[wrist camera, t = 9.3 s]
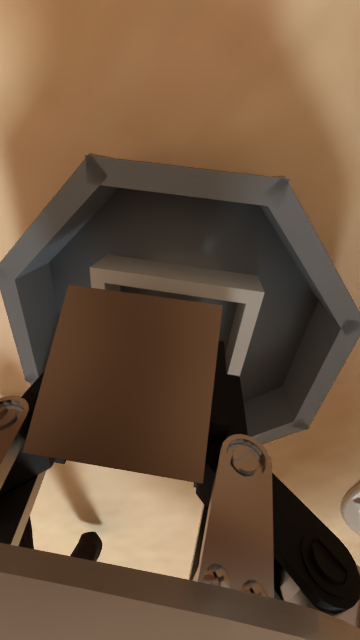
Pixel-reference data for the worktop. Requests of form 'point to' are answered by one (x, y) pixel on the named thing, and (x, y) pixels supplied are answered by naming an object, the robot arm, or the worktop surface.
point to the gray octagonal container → (194, 274)
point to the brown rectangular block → (129, 383)
